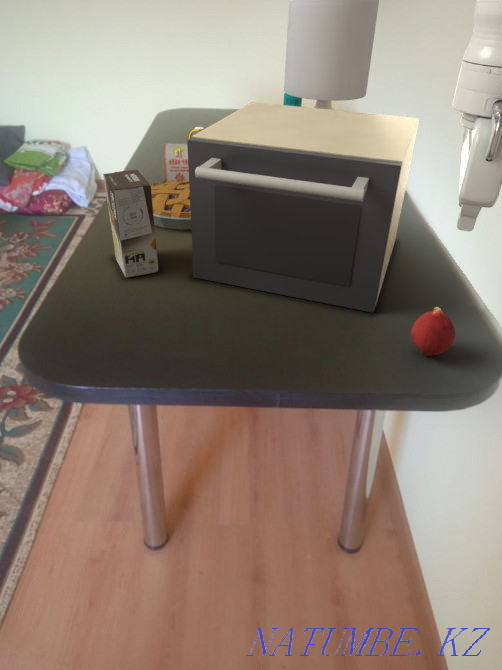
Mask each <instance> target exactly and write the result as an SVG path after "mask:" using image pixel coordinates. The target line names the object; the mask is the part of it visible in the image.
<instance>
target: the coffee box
mask: <svg viewBox="0 0 502 670" xmlns="http://www.w3.org/2000/svg"><path fill="white" fill-rule="evenodd" d="M102 177H103V183H104V190H105V195H106V203H107V210H108V211H107V212H108V216H109V223H110V229H111V237H112V243H113V250H114V256H115V260H116V261H117V264H118V266H119V268H120V270H121V272H122V273H123V276H124V277H125V278H132V277H133V278H134V277H137V276H142V275H148V274H154V273H157V272H159V260H158V259H159V258H158V249H157V238H156V228H155V227H156V225H154V215H153V204H152V194H151V186H152V184H150V182H149V181H148V180H147V179H146V178H145V177H144V175H143V174H142V173H141V172H140V171H139V170H138V169H132V170H131V169H129V170H120V171H114V172H109V173H103V174H102Z"/></svg>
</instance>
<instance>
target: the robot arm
mask: <svg viewBox="0 0 502 670" xmlns="http://www.w3.org/2000/svg"><path fill="white" fill-rule="evenodd" d="M451 106H452V108H453V109H454V110H456V111H458V112H460V113H461V117H460V121H459V124H460V125H461V126H462V127H463V136H462V143H461V158H460V172H459V188H458V206H459V207H460V211H459V214H458V219H457V223H456V228H457V230H459V231H462V232H463V231H464V232H472V231H473V230H474V228H475V225H476V222H477V218H478V216H479V214H480V212H481V210H482V208H486V209H487V208H489V209H491V208H493V207H494V206H495V205H496V202H497V201H498V199H499V195H500V192H501V188H502V0H475V5H474V9H473V30H472V34H471V39H470V41H469V43H468V46H467V48H466V49H465V51H464V53H463V56H462V61H461V66H460V70H459V73H458V78H457V82H456V87H455V90H454V96H453V100H452V105H451Z"/></svg>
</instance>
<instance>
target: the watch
mask: <svg viewBox="0 0 502 670" xmlns="http://www.w3.org/2000/svg"><path fill="white" fill-rule="evenodd" d="M204 129H205V128H204V127H202V126H195V127H194V129H192V130H191V131H190V133H189V136H188V139H190V138H192V136H193V134H194V132H200V131H202V130H204Z"/></svg>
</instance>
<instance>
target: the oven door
mask: <svg viewBox="0 0 502 670" xmlns="http://www.w3.org/2000/svg"><path fill="white" fill-rule="evenodd" d="M186 144H187V146H188V168H189V189H190V211H191V229H190V230H191V231H190V232H191V251H192V275H193V278H195V279H200V280H205V281H210V282H216V283H220V284H225V285H230V286H235V287H241V288H246V289H250V290H256V291H261V292H265V293H270V294H271V293H272V294H275V295H282V296H287V297H291V298H296V299H302V300H307V301H311V302H317V303H323V304H327V305H333V306H337V307H342V308H348V309H352V310H358V311H362V312H367V313H372V314H374V313H375V309H376V307H377V304H376V301H377V302H378V300H377V295H378V290H379V285H380V279H381V274H382V269H383V264H384V258H385V253H386V248H387V243H388V237H389V232H390V227H391V222H392V216H393V211H394V206H395V200H396V195H397V190H398V185H399V179H400V174H401V169H402V164H403V163H400V162H392V161H383V160H375V159H367V158H358V157H350V156H342V155H333V154H325V153H316V152H308V151H300V150H291V149H283V148H275V147H266V146H258V145H250V144H241V143H233V142H225V141H216V140H208V139H200V138H190V139H189V138H188V139H187V140H186ZM375 306H376V307H375Z"/></svg>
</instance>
